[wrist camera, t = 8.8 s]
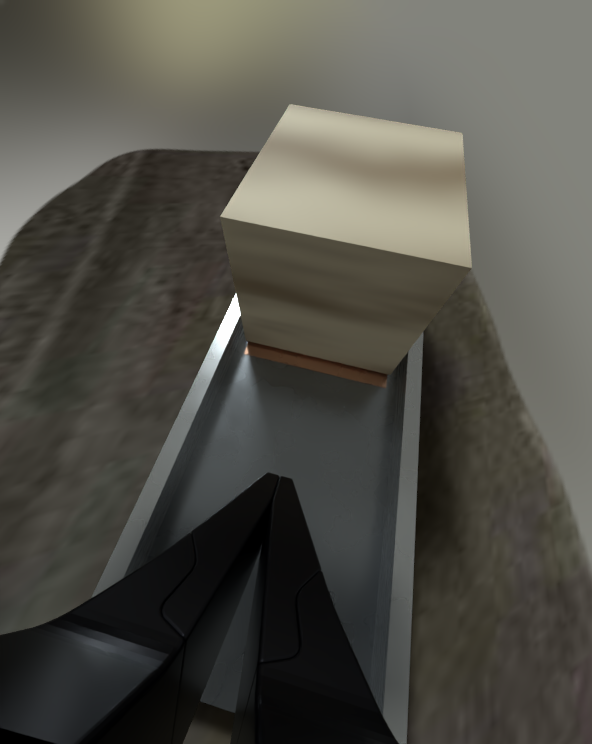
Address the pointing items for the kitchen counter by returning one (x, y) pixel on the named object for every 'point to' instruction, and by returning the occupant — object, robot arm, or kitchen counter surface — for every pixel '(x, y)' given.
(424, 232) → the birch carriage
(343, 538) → the graphite track
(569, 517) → the kitchen counter surface
